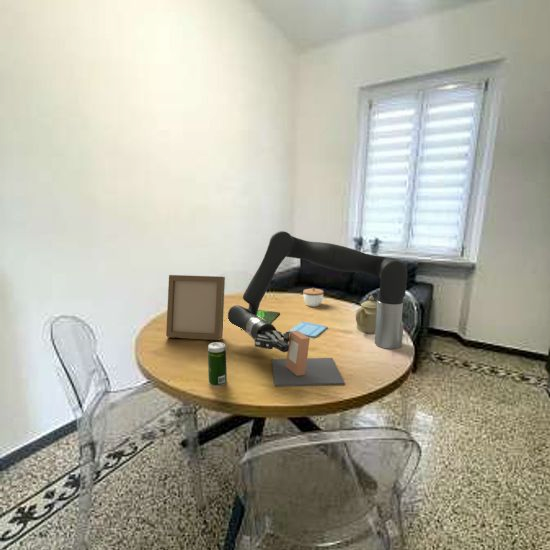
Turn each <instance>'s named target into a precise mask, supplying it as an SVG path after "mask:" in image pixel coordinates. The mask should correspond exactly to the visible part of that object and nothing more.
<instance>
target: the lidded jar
mask: <svg viewBox="0 0 550 550" xmlns="http://www.w3.org/2000/svg"><path fill="white" fill-rule="evenodd" d="M302 292H303V301H304V303H305V304H306V305H307V306H308V307H312V308H314V307H315V308H316V307H319V306H320V305H321V304H322V302H323V299H324V290H323V289H320V288H315V287H312V288H305V289H303V291H302Z"/></svg>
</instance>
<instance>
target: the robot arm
mask: <svg viewBox="0 0 550 550" xmlns="http://www.w3.org/2000/svg"><path fill="white" fill-rule="evenodd" d="M286 257H287V258H292V259H300V260H304V261H306V262H310V263H311V264H314V265H318V266H321V267H324V268H327V269H331V270H333V271H334V270H335V271H339V272H344V273H345V272H347V273H348V272H349V273H362V274H366V275H371V276H374V277H377V278H379V279H380V282H379V283H380V284H379V290H378V293H377V298H376V299H377V300H376V302H377V313H376V328H375V333H374V344H375V345H376V346H377V347H380V348H384V349H388V350H389V349H398V348H402V347H403V334H404V322H403V320H402V318H403V305H404V298H405V297H406V293H407V292H406V291H407V282H408V268H407V267H406V264H405V263H403V262H402V261H400V260H399V259H398V258H395V257H389V256H388V257H387V256H380V255H374V254H369V253H366V252H362V251H360V250H356V249H354V248H349V247H347V246H344V245H343V246H342V245H338V244H335V243H329V242H320V241H309V240H304V239H302V238H299V237H296V236H293V235H291V233H288V232H287V231H284V230H283V231H282V230H279V231H277V232H275V233H273V234H272V235H271V237H270V239H269V243H268V246H267V249H266V251H265V254H264V257H263V259H262V261H261V263H260V264H259V266H258V268H257V270H256V271H255V273H254V275H253V277H252V279H251V281H249V284H248V285H247V288H245V289H246V290H245V291H244V293H243V295H242V299H243V301H245V303H247V304H248V308H246V307H243V306H241V305H237V304H236V305H233V306H232V307H230V308H229V310H228V313H227V318H228V319H229V321H230V322H231V323H232V324H234V325H236V326H238V327H240V328H242V329H243V330H242V331H244V332H245V333H246V334H248V336H249V337H250V338H251V339H252V340H253V341H254V347H256V348H262V349H267V350H273V349H276V350H279V351H280V352H282V353H288V350H289V336H290V333H289V331H285V332H284V333H282V332H281V331H278V330H277V329H276V327H275V326H274V325H273V323H271V324H270V323H269V322H267V321H266V320H264V319H262V318H260V317H258V316H257V312H258V310H259V307H260V305H261V302H262V301H263V299H264V296H265V295H266V293H267V291H268V289H269V287H270V285H271V282H272V280H273V278H274V275H275V274H276V272H277V269H279V266H280V265H281V264H282V262H283V261H284V259H286Z"/></svg>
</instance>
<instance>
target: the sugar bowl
mask: <svg viewBox="0 0 550 550" xmlns="http://www.w3.org/2000/svg"><path fill="white" fill-rule="evenodd" d="M374 300H375V298H374V296H373V295H370V296H369V298H368V300H366V301H364V302H362V303H360V305H361V306H360V307H358V308H357V310H356V312H355V321H356V330H358V331H360V332H362V331H363V332H362V333H366V332H368V333H367V334H375V328H376V313H377V301H374Z"/></svg>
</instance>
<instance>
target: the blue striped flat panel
mask: <svg viewBox="0 0 550 550" xmlns="http://www.w3.org/2000/svg"><path fill="white" fill-rule="evenodd" d="M327 329H328V326H326V325H323V324H322V325H321V324H318V323H311V322H306V321H301V322H300V323H298V324H297V325H295V326H294V327H292V328H291V329H290V330H288V332H289V334H290V331H299V332H301V333H302V334H304V335H306V336H307V337H309V338H312V339H313V338H317V337H318V336H320V335H321V334H322V333H324V331H326V330H327Z"/></svg>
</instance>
